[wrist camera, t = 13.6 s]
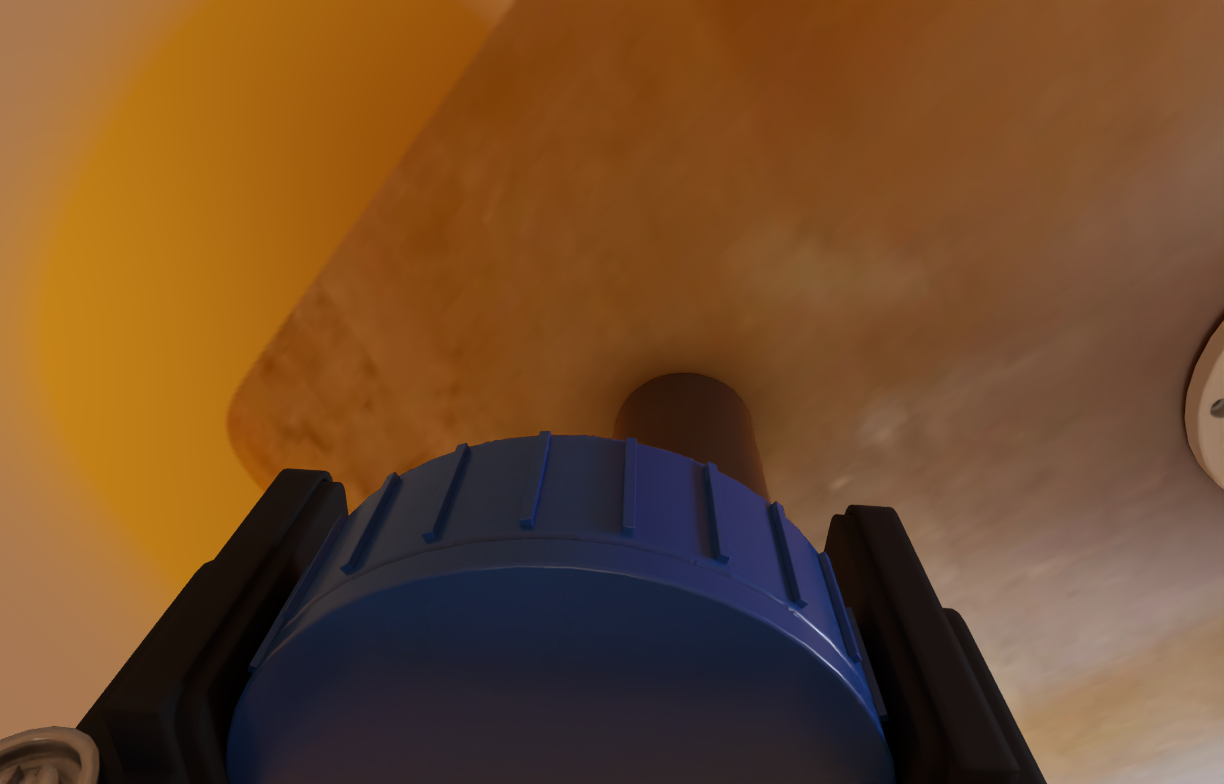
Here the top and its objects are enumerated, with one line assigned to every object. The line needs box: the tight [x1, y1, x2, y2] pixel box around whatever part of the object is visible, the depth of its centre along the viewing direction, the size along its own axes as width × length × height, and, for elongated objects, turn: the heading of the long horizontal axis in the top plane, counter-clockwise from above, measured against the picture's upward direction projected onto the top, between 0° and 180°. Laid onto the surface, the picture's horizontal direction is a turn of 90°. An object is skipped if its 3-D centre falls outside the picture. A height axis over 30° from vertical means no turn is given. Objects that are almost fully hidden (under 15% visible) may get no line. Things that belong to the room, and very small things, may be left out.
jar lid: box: [225, 431, 897, 784], centre depth 8 cm, size 7×7×2 cm
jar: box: [613, 373, 771, 504], centre depth 28 cm, size 6×6×10 cm
